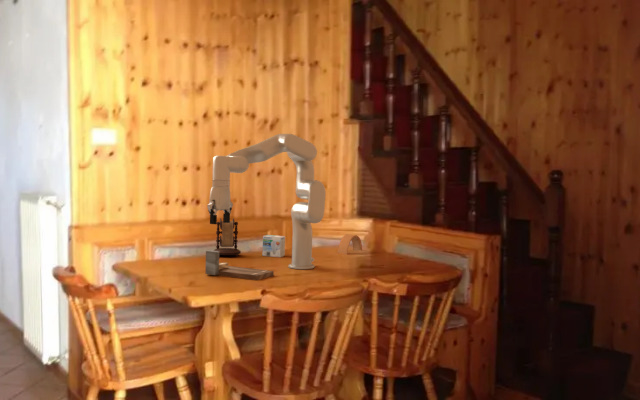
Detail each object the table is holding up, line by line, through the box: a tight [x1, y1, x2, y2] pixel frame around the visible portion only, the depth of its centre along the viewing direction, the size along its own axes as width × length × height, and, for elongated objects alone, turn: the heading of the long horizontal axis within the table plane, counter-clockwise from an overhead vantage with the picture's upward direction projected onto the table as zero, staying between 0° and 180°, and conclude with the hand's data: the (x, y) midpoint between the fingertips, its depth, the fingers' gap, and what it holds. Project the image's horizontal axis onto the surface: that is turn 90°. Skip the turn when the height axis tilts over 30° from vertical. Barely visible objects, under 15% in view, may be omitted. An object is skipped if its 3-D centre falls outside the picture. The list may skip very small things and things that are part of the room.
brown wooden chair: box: [212, 217, 242, 258], centre depth 352 cm, size 15×15×20 cm
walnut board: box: [209, 265, 275, 281], centre depth 297 cm, size 14×26×2 cm, turn 64°
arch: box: [337, 234, 363, 255], centre depth 380 cm, size 6×20×10 cm, turn 151°
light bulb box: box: [262, 234, 286, 258], centre depth 357 cm, size 11×7×11 cm, turn 73°
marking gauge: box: [204, 250, 229, 276], centre depth 297 cm, size 12×5×10 cm, turn 154°
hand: (219, 223), depth 290 cm, fingers open, 9 cm apart
